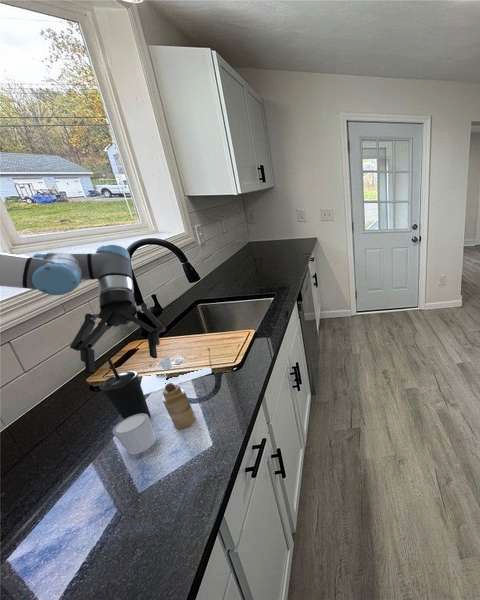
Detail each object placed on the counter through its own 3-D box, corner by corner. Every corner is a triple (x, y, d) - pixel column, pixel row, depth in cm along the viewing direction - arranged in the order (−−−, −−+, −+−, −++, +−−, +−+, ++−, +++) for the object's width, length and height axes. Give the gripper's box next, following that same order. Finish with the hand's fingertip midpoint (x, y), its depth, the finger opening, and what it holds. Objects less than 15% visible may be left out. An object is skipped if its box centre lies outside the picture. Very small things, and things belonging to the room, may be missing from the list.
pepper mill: (172, 423, 83) (155, 385, 78) (192, 413, 86) (177, 375, 81) (177, 432, 80) (159, 392, 75) (198, 421, 83) (182, 382, 78)
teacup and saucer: (185, 359, 112) (181, 349, 111) (184, 370, 106) (180, 360, 105) (155, 368, 108) (151, 358, 107) (153, 379, 102) (148, 369, 100)
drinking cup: (154, 406, 90) (126, 347, 82) (159, 419, 85) (129, 357, 77) (120, 421, 85) (87, 359, 77) (123, 436, 80) (88, 372, 72)
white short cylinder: (144, 456, 74) (133, 434, 71) (116, 457, 74) (104, 435, 71) (165, 433, 80) (155, 412, 77) (139, 434, 80) (128, 413, 77)
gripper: (172, 291, 98) (182, 354, 91) (69, 310, 88) (71, 382, 82) (163, 279, 91) (172, 347, 85) (50, 299, 82) (51, 376, 75)
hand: (123, 364), depth 83 cm, fingers open, 13 cm apart
